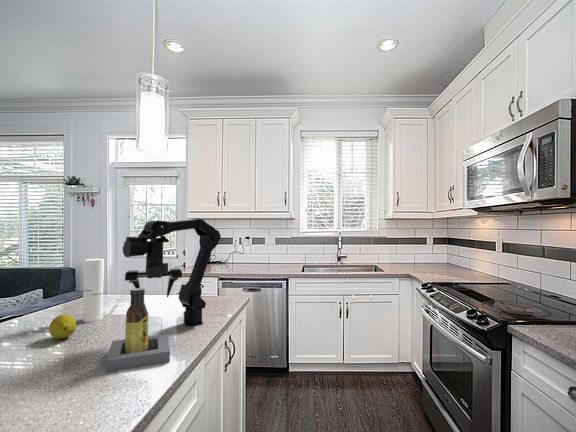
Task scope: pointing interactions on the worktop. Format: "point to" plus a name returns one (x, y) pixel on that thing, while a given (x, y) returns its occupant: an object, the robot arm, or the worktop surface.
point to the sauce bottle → (136, 323)
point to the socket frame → (138, 354)
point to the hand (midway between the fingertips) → (153, 298)
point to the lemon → (62, 326)
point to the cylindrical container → (93, 290)
